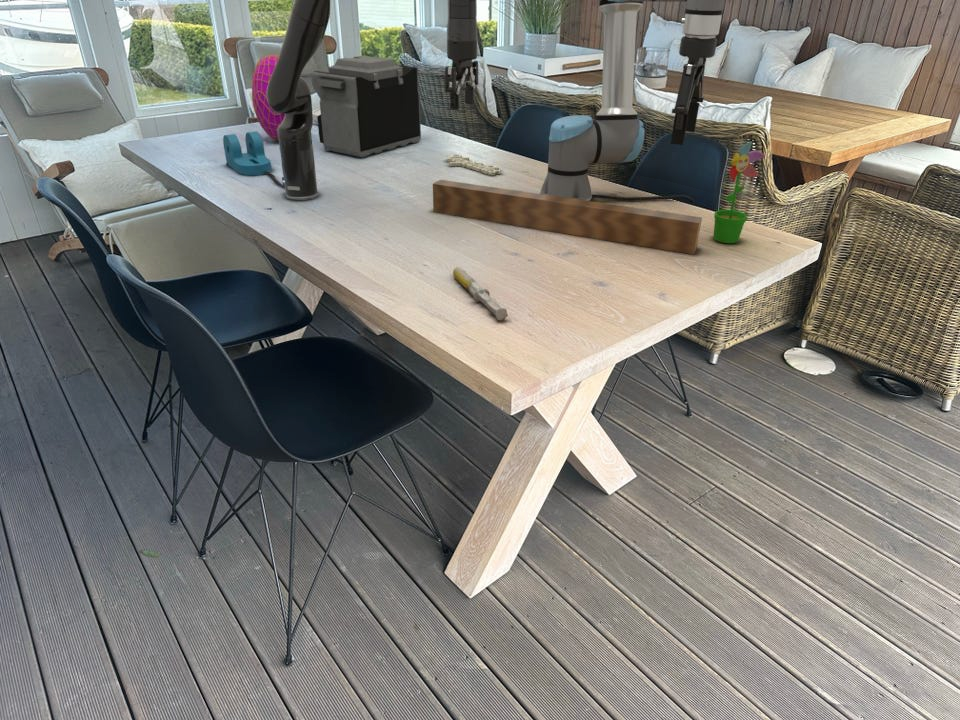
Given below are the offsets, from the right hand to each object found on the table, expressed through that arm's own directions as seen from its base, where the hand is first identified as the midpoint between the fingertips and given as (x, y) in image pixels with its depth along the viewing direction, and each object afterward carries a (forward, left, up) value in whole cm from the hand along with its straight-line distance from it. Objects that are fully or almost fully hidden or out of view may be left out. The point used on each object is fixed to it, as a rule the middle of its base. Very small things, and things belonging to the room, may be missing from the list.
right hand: (682, 137), depth 158 cm
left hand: (+57, 0, +2) cm, 57 cm away
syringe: (+29, +48, -27) cm, 62 cm away
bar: (+29, 0, -27) cm, 39 cm away
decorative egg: (+157, -47, -27) cm, 166 cm away
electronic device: (+122, -54, -27) cm, 136 cm away
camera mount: (+140, -9, -27) cm, 143 cm away
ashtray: (+158, -85, -27) cm, 181 cm away
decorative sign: (+76, -45, -27) cm, 92 cm away
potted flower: (-13, -12, -27) cm, 32 cm away
